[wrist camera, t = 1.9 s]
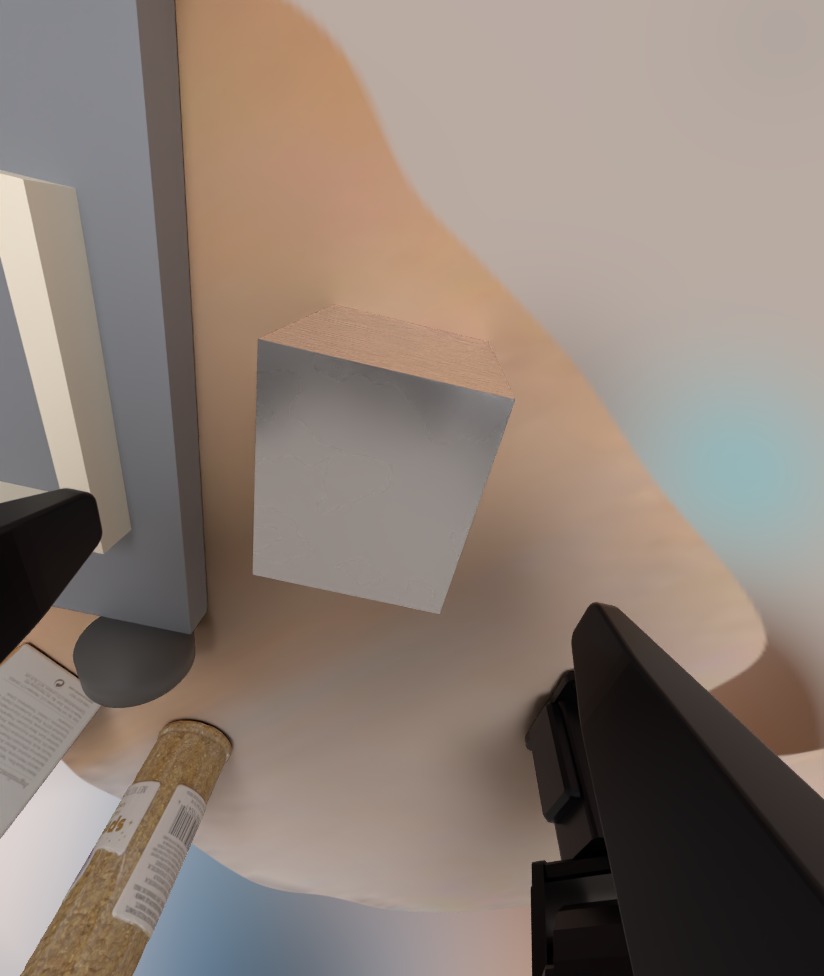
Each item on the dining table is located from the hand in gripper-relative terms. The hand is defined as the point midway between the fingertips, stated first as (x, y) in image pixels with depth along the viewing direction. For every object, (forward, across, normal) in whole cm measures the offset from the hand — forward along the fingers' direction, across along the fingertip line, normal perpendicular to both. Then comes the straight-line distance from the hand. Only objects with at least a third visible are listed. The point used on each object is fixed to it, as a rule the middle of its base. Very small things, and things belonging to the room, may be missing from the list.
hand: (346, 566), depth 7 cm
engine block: (+8, 0, 0) cm, 8 cm away
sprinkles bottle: (+8, +8, +24) cm, 27 cm away
